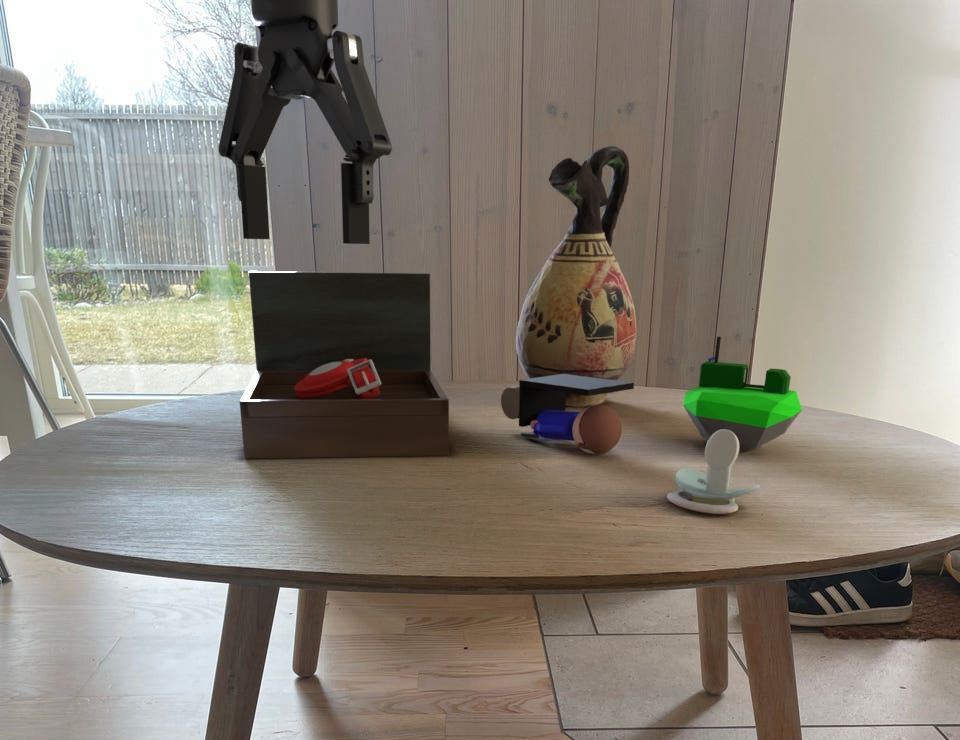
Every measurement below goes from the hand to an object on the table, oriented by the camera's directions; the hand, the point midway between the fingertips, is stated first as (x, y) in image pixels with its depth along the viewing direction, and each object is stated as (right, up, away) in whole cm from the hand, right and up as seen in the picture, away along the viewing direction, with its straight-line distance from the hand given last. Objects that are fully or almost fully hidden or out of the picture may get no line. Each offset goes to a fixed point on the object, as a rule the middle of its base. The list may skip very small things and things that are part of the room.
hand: (304, 241), depth 88 cm
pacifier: (+36, -27, -11) cm, 46 cm away
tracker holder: (+2, -12, +11) cm, 16 cm away
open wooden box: (+2, -16, +12) cm, 20 cm away
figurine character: (+26, -17, +10) cm, 33 cm away
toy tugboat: (+44, -18, +10) cm, 49 cm away
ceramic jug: (+30, -6, +35) cm, 46 cm away
